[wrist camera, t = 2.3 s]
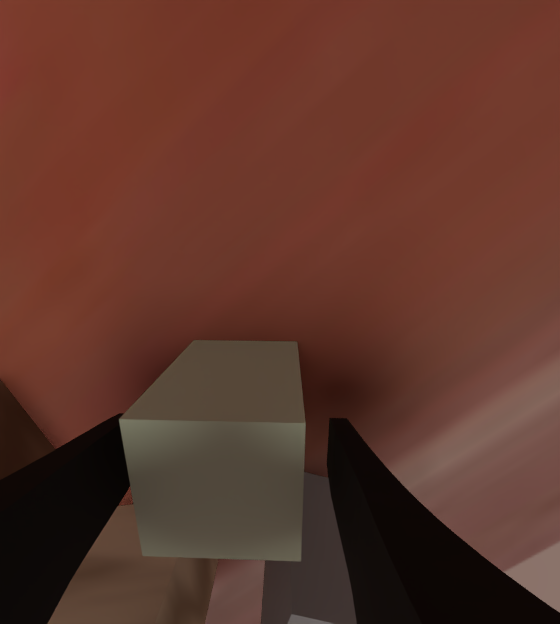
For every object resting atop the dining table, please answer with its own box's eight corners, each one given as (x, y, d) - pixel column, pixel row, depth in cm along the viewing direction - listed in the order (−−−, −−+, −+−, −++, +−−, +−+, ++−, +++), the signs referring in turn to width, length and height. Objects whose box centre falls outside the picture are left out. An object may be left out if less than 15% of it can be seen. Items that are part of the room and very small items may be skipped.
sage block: (295, 430, 14) (301, 561, 8) (201, 427, 14) (142, 556, 8) (297, 341, 13) (305, 423, 7) (194, 339, 13) (118, 419, 7)
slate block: (346, 552, 16) (379, 724, 10) (266, 533, 16) (255, 698, 10) (375, 488, 15) (432, 645, 9) (289, 467, 15) (291, 614, 9)
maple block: (218, 559, 17) (181, 729, 11) (142, 566, 17) (67, 735, 11) (199, 496, 15) (145, 649, 10) (117, 505, 16) (18, 658, 10)
